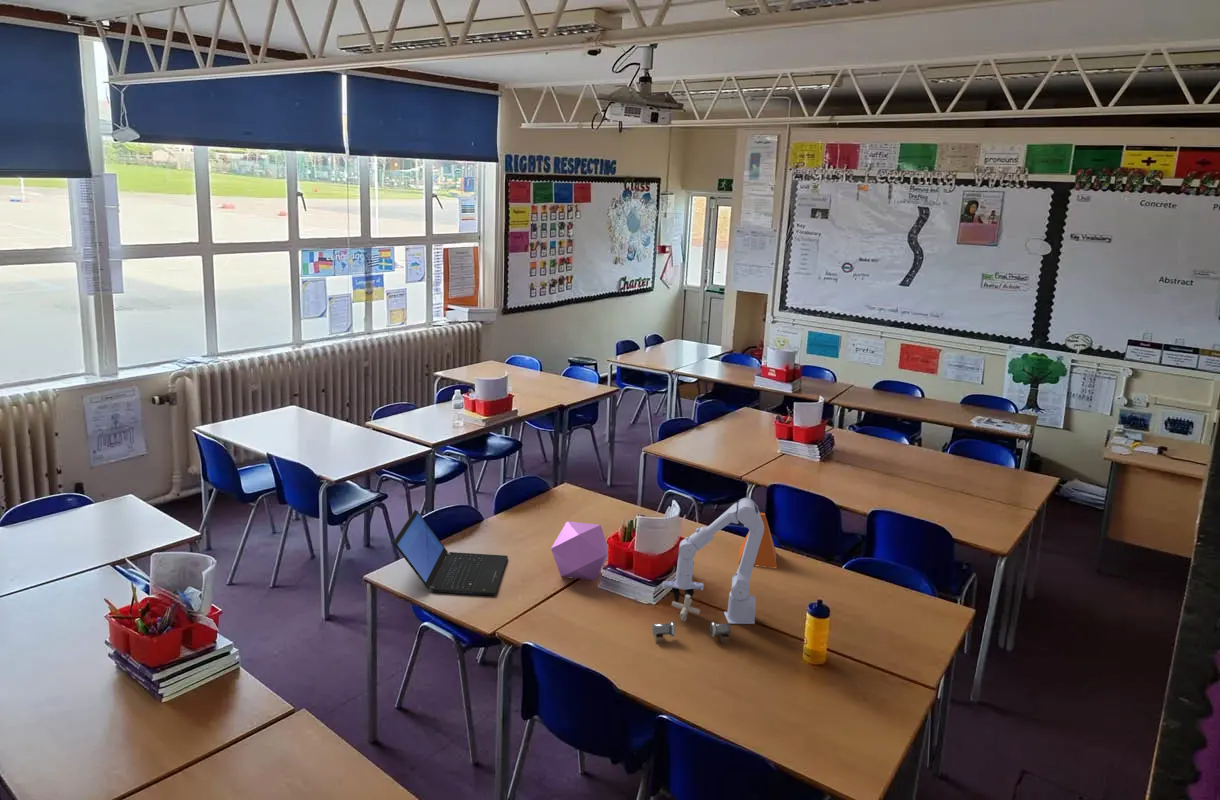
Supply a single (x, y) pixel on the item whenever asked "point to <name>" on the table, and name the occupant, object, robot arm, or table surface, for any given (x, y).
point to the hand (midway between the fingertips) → (680, 606)
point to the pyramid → (763, 548)
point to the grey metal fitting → (663, 631)
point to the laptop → (447, 562)
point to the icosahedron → (580, 550)
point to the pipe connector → (685, 607)
